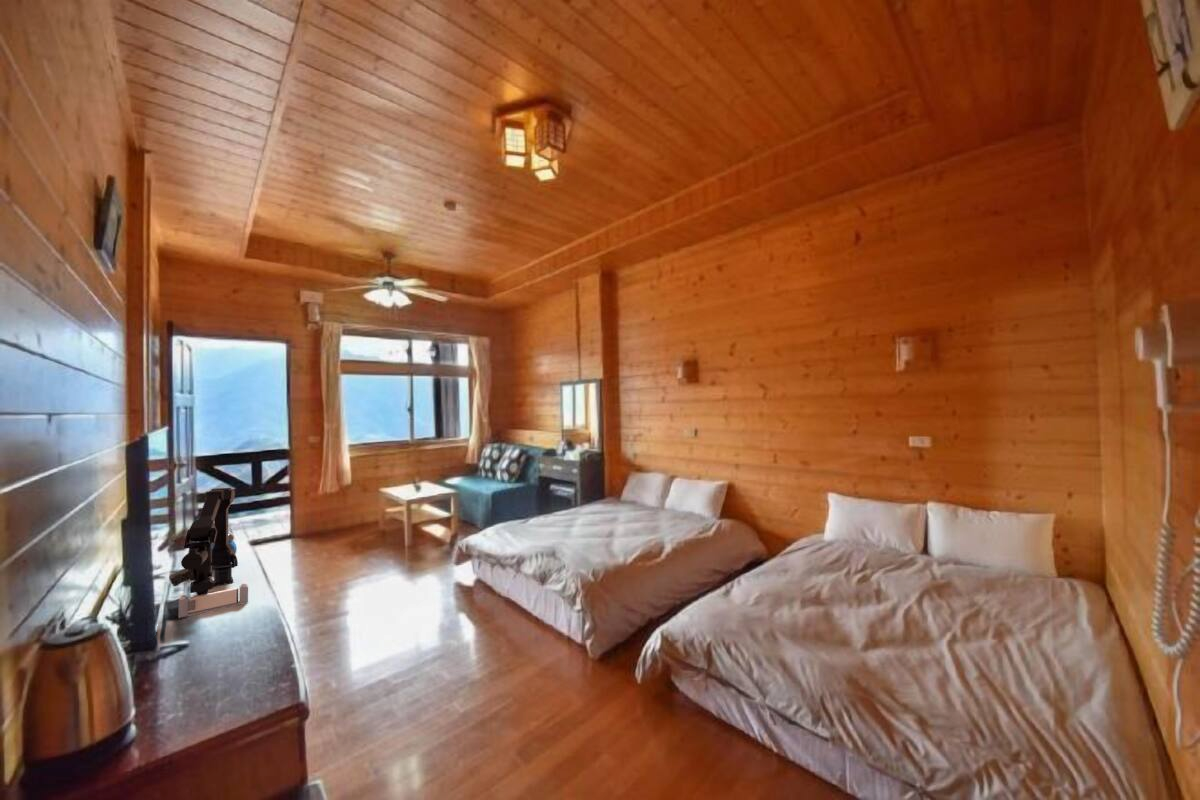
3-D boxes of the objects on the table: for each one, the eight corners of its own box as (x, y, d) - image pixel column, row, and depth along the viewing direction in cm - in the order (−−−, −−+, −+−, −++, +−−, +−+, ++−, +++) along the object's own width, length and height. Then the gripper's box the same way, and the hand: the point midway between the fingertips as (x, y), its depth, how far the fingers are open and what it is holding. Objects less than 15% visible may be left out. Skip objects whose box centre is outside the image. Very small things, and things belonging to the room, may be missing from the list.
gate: (189, 611, 166) (190, 597, 166) (238, 601, 175) (238, 587, 175) (189, 613, 165) (190, 598, 165) (238, 602, 174) (238, 588, 174)
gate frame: (178, 615, 165) (178, 595, 165) (247, 600, 177) (247, 581, 177) (178, 618, 162) (178, 598, 162) (248, 603, 175) (248, 584, 175)
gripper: (172, 556, 171) (172, 598, 171) (170, 573, 157) (170, 619, 157) (211, 550, 178) (211, 590, 179) (213, 565, 164) (213, 609, 165)
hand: (201, 601), depth 170 cm, fingers closed
